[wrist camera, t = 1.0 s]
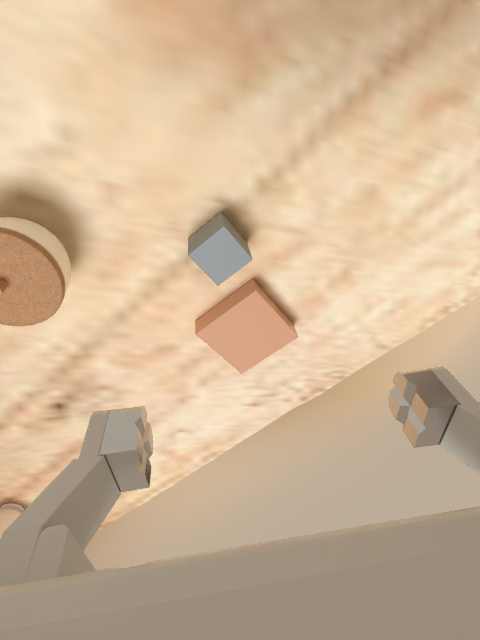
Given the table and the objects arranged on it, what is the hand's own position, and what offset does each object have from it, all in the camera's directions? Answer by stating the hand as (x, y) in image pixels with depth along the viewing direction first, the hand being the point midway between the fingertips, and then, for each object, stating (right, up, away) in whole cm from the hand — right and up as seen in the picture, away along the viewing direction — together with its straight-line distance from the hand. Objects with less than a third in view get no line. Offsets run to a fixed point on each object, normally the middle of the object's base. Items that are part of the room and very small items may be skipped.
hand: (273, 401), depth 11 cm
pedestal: (0, +2, +38) cm, 38 cm away
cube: (-4, +12, +31) cm, 33 cm away
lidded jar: (-25, +11, +29) cm, 40 cm away
